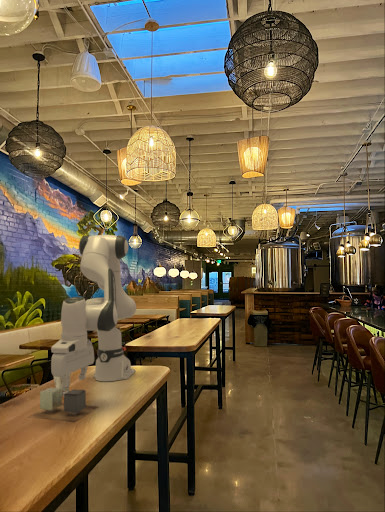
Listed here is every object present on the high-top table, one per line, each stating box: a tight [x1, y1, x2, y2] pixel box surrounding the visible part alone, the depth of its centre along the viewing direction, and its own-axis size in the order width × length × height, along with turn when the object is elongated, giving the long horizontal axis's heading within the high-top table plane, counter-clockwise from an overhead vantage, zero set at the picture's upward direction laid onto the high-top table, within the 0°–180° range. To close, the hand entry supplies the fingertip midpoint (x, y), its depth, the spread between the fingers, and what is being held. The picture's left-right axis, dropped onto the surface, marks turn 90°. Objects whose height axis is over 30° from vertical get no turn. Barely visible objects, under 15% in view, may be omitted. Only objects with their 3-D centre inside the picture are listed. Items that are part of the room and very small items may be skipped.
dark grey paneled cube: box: [63, 389, 87, 413], centre depth 129 cm, size 5×5×6 cm
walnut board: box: [28, 402, 99, 423], centre depth 131 cm, size 15×19×1 cm
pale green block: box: [39, 387, 63, 413], centre depth 132 cm, size 5×5×8 cm
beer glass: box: [53, 373, 71, 397], centre depth 152 cm, size 7×7×15 cm
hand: (74, 382), depth 129 cm, fingers open, 8 cm apart
